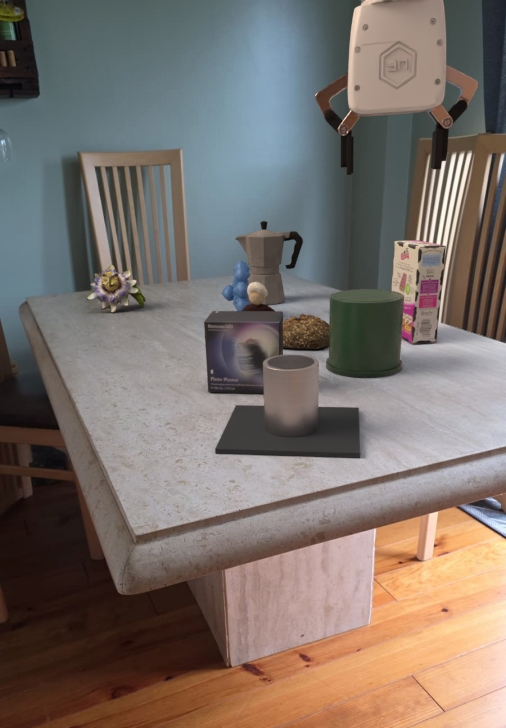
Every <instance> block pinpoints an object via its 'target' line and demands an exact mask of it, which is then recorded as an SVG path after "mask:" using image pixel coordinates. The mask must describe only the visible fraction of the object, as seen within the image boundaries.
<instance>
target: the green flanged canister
mask: <svg viewBox="0 0 506 728" xmlns="http://www.w3.org/2000/svg"><path fill="white" fill-rule="evenodd" d="M403 308H404V295H403V294H401V293H399V292H395V291H391V290H388V289H378V288H377V289H376V288H358V289H357V288H356V289H347V290H346V289H345V290H340V291H336V292H333V293H331V294H330V295H329V321H328V322H329V323H328V324H329V345H328V358H327V359H326V361H325V368H326V369H327V370H328V371H329V372H331V373H333V374H335V375H339V376H344V377H349V378H360V379H361V378H362V379H372V378H375V379H376V378H381V377H382V378H383V377H388V376H393V375H396V374H397V373H399V372H401V371H402V369H403V360H402V359H401V353H402V339H403V338H402V323H403Z"/></svg>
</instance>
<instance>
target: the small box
mask: <svg viewBox="0 0 506 728" xmlns="http://www.w3.org/2000/svg"><path fill="white" fill-rule="evenodd" d="M283 322H284V311H282V310H275V311H237V310H212V311H211V312H210V313H209V315H208V316H207V317H206V318H205V319H204V321H203V330H204V342H205V343H204V344H205V359H206V363H205V364H206V376H207V377H206V379H207V381H206V382H207V392H208V393H225V394H226V393H227V394H228V393H229V394H230V393H232V394H263V395H264V382H263V362H264V361H265V360H266V359H268V358H270V357H274V356H279V355H284V348H283Z"/></svg>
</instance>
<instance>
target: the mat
mask: <svg viewBox="0 0 506 728" xmlns="http://www.w3.org/2000/svg"><path fill="white" fill-rule="evenodd" d="M360 435H361V433H360V408H359V407H357V406H356V407H352V406H318V428H317V430H316V431H314V432H313V433H311V434H308V435H304V436H297V437H284V436H278V435H274V434H271V433H269V432H268V431H267V430H266V429H265V420H264V405H252V404H251V405H250V404H246V405H245V404H236V405H235V406H234V408H233V410H232V413H231V414H230V417H229V419H228V421H227V423H226V426H225V427H224V429H223V431H222V434H221V435H220V438H219V440H218V442H217V444H216V446H215V447H214V453H215V454H223V455H224V454H225V455H229V454H230V455H257V456H259V455H261V456H264V455H265V456H288V457H289V456H292V457H293V456H294V457H320V458H321V457H322V458H323V457H324V458H325V457H326V458H352V459H353V458H356V459H357V458H358V459H359V458H361V438H360V437H361V436H360Z"/></svg>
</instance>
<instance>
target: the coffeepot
mask: <svg viewBox="0 0 506 728" xmlns="http://www.w3.org/2000/svg"><path fill="white" fill-rule="evenodd" d="M268 223H269V222H268V221H266V220H262V221H260V228H261V229H259V230H256V231H253V232H250V233H245V234H240V235H237V236H236V237H235V240H236V241H237V242H238V243H239V244H240V245H241V248H242V249H243V251H244V253H245V254H246V259H247V265H248V266H249V267H250V276H249V278H248V283H249V284H250V283H253V282H259V283H261V284H263V285H264V286H265V288H266V289H267V291H268V296H266V298H265V299H264V302H263V303H261V304H264V305H267V306H273V305H274V306H275V305H278V304H283V303H284V302H285V301H286V296H285V291H284V290H285V289H284V284H283V278H282V274H281V272H280V266H281V264H282V259H283V252H284V245H285V242H287V241H288V242H289V241H295V243H294V246H293V251H292V255H291V258H290V263H289V264H285V266H284V267H285V269H286V270H291V269H292V270H293V269H295V268H296V265H297V262H298V259H299V255H300V253H301V249H302V246H303V244H304V238H303V237H302V236H301V235H300V234H299V233H298V231H295V230H293V231H281V232H277V231H274V230H270V229H267V228H268ZM250 304H252V303H250Z"/></svg>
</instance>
